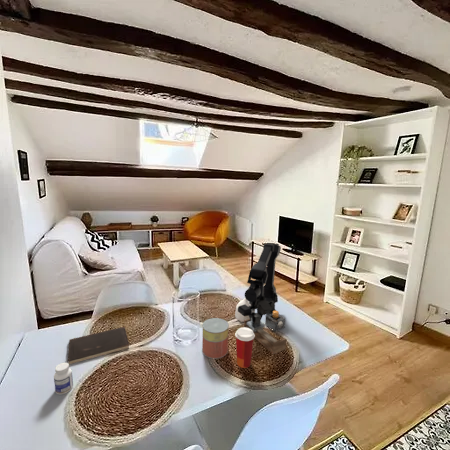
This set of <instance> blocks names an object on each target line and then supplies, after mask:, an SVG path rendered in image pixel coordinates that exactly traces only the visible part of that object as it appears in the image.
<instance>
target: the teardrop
mask: <svg viewBox="0 0 450 450" xmlns="http://www.w3.org/2000/svg"><path fill="white" fill-rule="evenodd" d="M249 302H250V301H248V300H247V299H246V298H245V297H244V299H242V300H240V301H239V302H238V303H237V304H236V306H235V315H234V317H235V319H236V320H237V321H239V322H241V323H242V322H243V323H244V320H246V319H249V316H243V315H242V314H241V313H239V312H238V307H239V306H241V305H247V306H248V307H249V306H251V304H249ZM254 312H255V313H256V310H255V311H254Z"/></svg>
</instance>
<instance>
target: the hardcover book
mask: <svg viewBox="0 0 450 450" xmlns="http://www.w3.org/2000/svg"><path fill="white" fill-rule="evenodd" d="M129 348H130V342H129V338H128V335H127V330H126V327H125V326H122V327H117V328H112V329H109V330H105V331H100V332H96V333H95V332H94V333H91V334H88V335H83V336H79V337H75V338H69V340H68V348H67V349H68V350H67V352H68V353H67V362H66V363H68V364H69V365H71V364H75V363H79V362H82V361H86V360H89V359H94V358H96V357H97V358H98V357H100V356H104V355H108V354H112V353H116V352H119V351H123V350H127V349H129Z"/></svg>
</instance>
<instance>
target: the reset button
mask: <svg viewBox="0 0 450 450" xmlns="http://www.w3.org/2000/svg"><path fill="white" fill-rule="evenodd" d="M272 313H273V317H274V319H275V320H277V318H278V317H279V315H280V311H278V310H276V311H273V312H272Z"/></svg>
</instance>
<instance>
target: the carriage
mask: <svg viewBox="0 0 450 450" xmlns="http://www.w3.org/2000/svg"><path fill="white" fill-rule="evenodd" d="M255 313H256V315H255V316H254V324H252V323H251V321H249V322H247V325H248V327H249V328H250V329H252V330H253V331H254V332H255V333H257V329H260V328H261V329H262V330H263V329H264V328H265V326H266V325H265V323H263V322H262V318H261V315H259V314H258V313H257V312H255Z"/></svg>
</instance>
